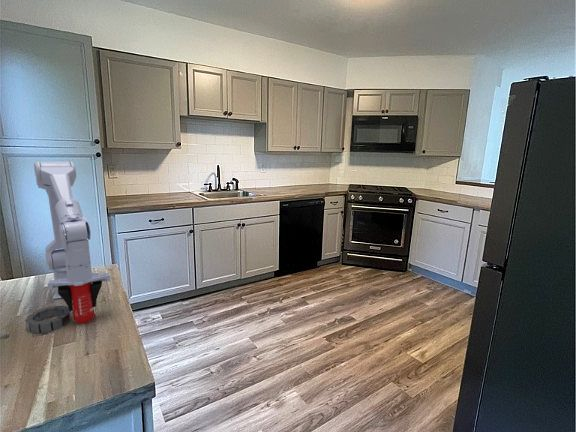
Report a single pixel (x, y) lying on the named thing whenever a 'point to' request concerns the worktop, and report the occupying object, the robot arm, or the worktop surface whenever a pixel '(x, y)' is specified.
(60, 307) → the collar ring
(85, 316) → the beverage can
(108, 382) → the worktop surface
